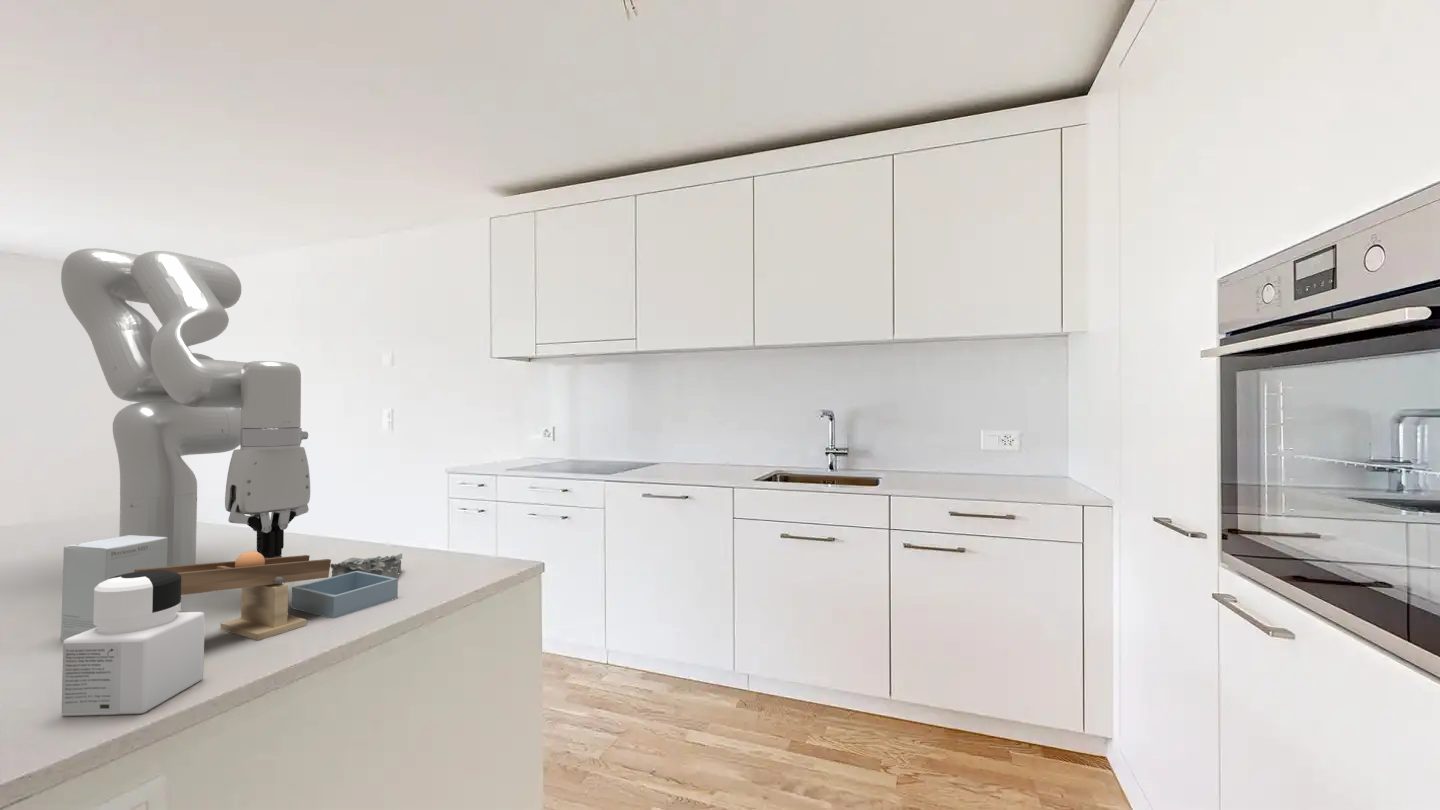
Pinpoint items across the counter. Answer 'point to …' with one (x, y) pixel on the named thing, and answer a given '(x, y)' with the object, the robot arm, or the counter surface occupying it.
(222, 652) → the counter surface
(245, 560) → the ball
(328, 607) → the dish
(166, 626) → the container
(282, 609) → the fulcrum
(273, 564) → the lever
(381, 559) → the egg carton
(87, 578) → the supplement box
